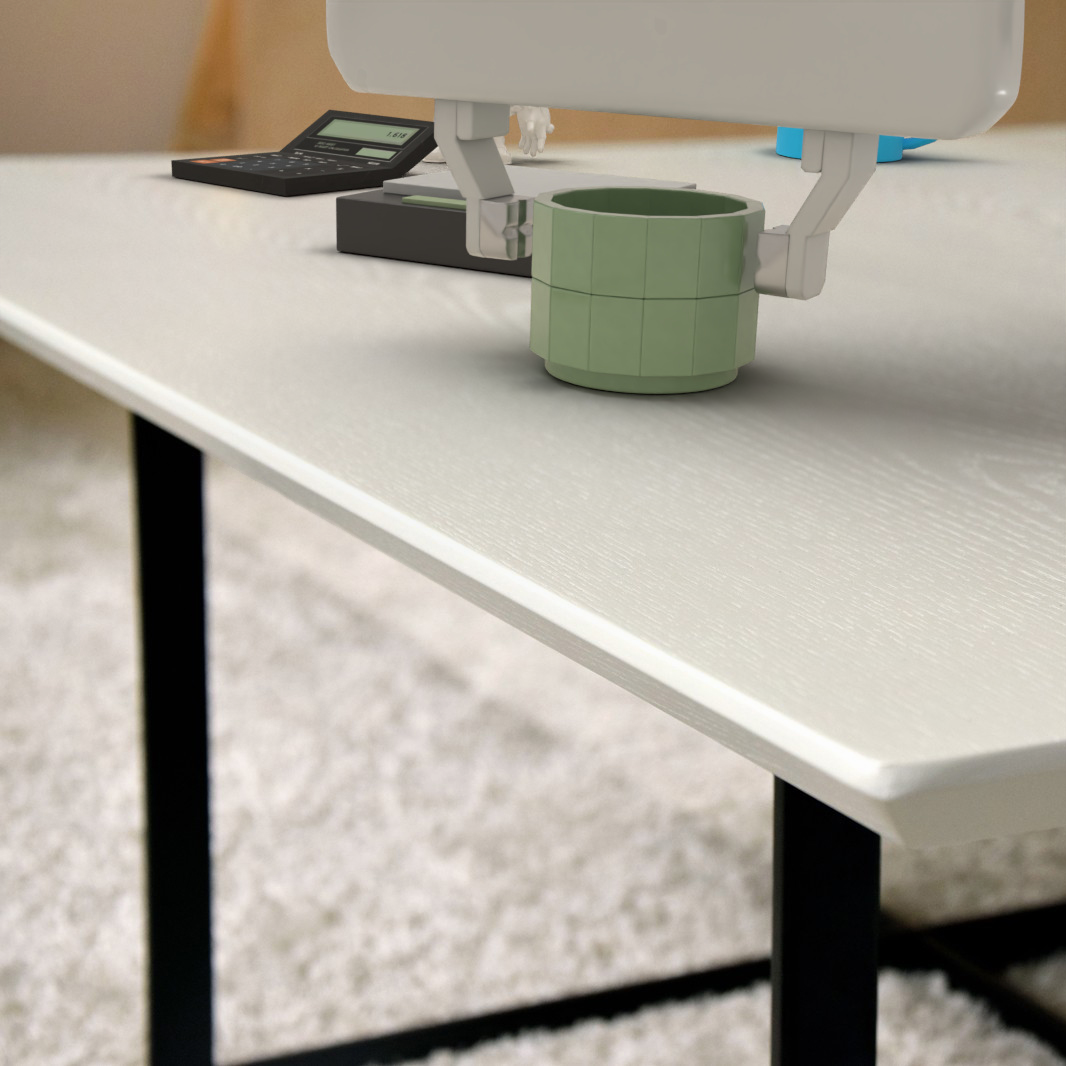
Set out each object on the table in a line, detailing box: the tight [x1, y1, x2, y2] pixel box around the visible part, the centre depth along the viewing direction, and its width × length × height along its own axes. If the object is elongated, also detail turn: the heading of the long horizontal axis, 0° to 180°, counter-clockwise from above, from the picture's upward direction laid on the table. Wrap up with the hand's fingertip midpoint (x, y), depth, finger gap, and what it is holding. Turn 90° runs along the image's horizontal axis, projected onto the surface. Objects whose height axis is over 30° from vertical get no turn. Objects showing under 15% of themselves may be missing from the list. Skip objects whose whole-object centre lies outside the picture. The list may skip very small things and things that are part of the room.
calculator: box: [170, 109, 438, 197], centre depth 88 cm, size 9×12×3 cm
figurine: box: [422, 105, 556, 165], centre depth 96 cm, size 10×5×12 cm, turn 127°
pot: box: [529, 186, 766, 395], centre depth 48 cm, size 7×7×5 cm
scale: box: [335, 164, 697, 278], centre depth 68 cm, size 12×11×3 cm
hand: (637, 274), depth 48 cm, fingers open, 8 cm apart
